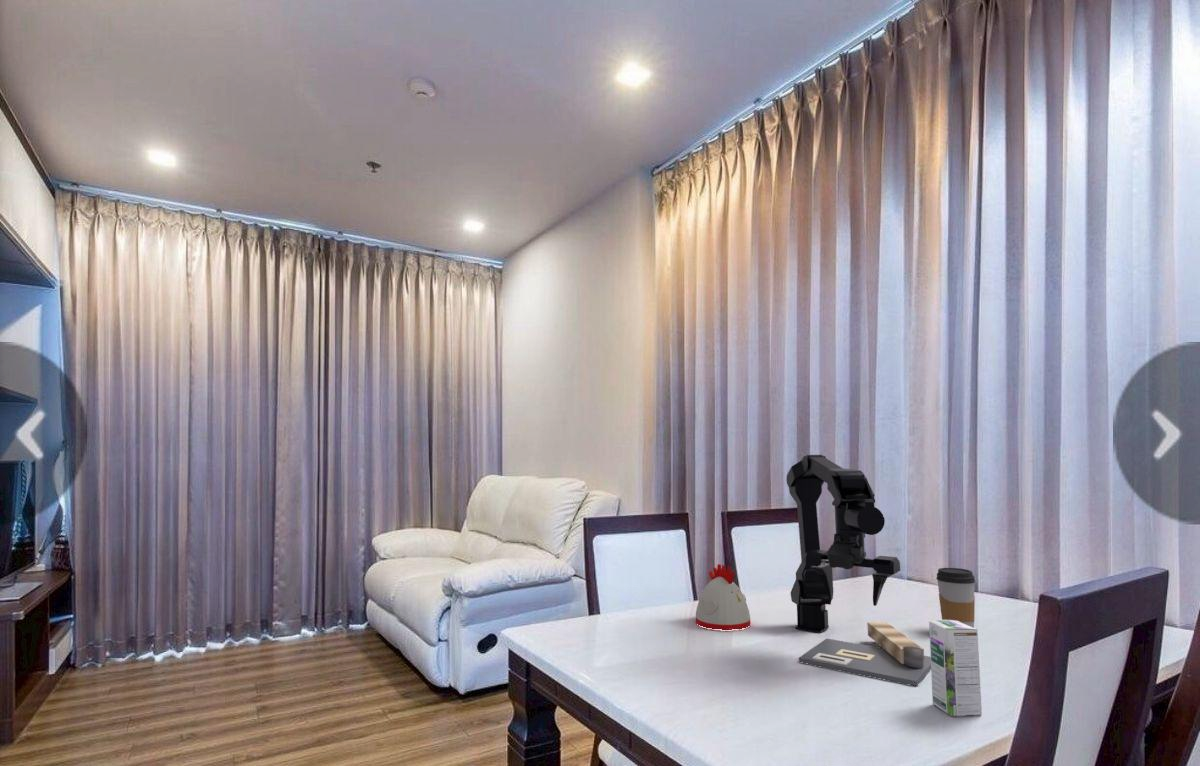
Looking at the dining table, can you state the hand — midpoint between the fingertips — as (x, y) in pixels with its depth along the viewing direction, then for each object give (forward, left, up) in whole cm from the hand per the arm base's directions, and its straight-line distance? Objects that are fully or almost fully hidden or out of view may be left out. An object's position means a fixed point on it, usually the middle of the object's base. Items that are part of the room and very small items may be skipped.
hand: (852, 602), depth 140 cm
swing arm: (+6, +7, -11) cm, 15 cm away
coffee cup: (+14, +34, -12) cm, 39 cm away
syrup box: (+22, -16, -12) cm, 30 cm away
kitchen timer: (-36, +9, -12) cm, 39 cm away
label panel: (+3, 0, -12) cm, 12 cm away
